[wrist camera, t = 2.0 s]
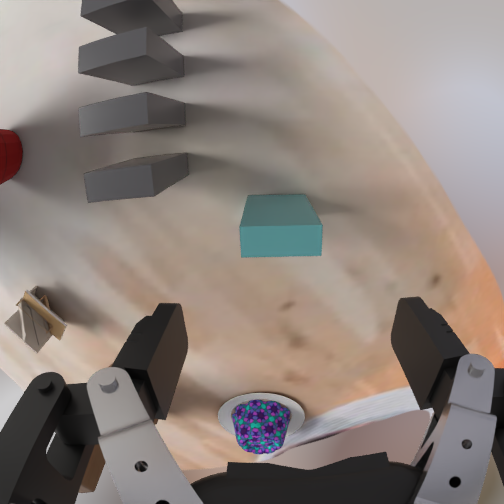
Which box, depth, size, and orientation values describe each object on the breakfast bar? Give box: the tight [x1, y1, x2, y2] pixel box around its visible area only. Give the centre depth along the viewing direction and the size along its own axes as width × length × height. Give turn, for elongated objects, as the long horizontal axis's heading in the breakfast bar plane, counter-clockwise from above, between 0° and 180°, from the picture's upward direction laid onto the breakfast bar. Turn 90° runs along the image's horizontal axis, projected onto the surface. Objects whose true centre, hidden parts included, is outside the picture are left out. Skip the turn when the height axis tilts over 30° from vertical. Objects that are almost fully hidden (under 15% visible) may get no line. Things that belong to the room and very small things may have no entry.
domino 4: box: [84, 153, 189, 203], centre depth 22 cm, size 2×5×9 cm, turn 92°
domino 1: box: [81, 0, 182, 36], centre depth 17 cm, size 2×5×9 cm, turn 92°
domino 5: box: [240, 194, 323, 257], centre depth 23 cm, size 2×5×9 cm, turn 92°
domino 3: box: [79, 92, 186, 137], centre depth 20 cm, size 2×5×9 cm, turn 92°
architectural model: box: [4, 286, 67, 353], centre depth 30 cm, size 3×7×7 cm, turn 51°
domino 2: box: [78, 27, 184, 86], centre depth 19 cm, size 2×5×9 cm, turn 92°
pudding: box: [218, 393, 305, 454], centre depth 36 cm, size 12×12×5 cm
